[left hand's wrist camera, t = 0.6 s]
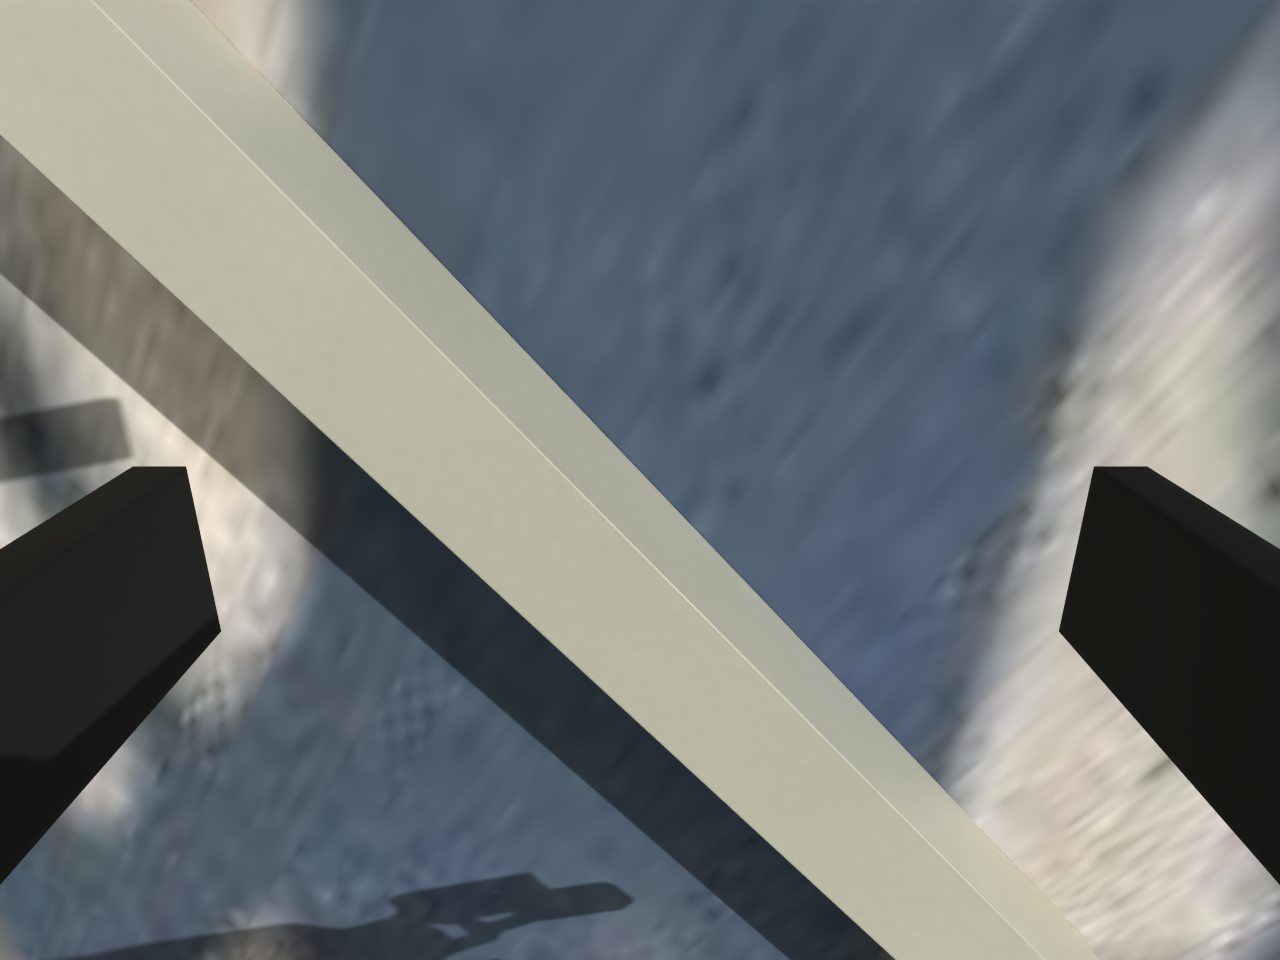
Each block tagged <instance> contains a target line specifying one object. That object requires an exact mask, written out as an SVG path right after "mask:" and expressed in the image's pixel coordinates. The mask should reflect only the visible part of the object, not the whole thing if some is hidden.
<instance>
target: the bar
mask: <svg viewBox="0 0 1280 960" xmlns="http://www.w3.org/2000/svg"><path fill="white" fill-rule="evenodd" d="M0 136H2V137H3V138H4V139H5V140H6V141H7V142H8V143H9V144H10V145H11V146H12V147H14V148H15V149H16V150H17V151H18V152H19V153H20V154H21V155H22V156H23V157H24V158H25V159H27V160H28V161H29V162H30V163H31V164H32V165H33V166H34V167H35V168H36V169H37V170H38V171H40V172H41V173H42V174H43V175H44V176H45V177H46V178H47V179H48V180H49V181H50V182H52V183H53V184H54V185H55V186H56V187H57V188H58V189H59V190H60V191H61V192H62V193H63V194H65V195H66V196H67V197H68V198H69V199H70V200H71V201H72V202H73V203H74V204H75V205H76V206H78V207H79V208H80V209H81V210H82V211H83V212H84V213H85V214H86V215H87V216H88V217H90V218H91V219H92V220H93V221H94V222H95V223H96V224H97V225H98V226H99V227H100V228H101V229H103V230H104V231H105V232H106V233H107V234H108V235H109V236H110V237H111V238H112V239H113V240H114V241H116V242H117V243H118V244H119V245H120V246H121V247H122V248H123V249H124V250H125V251H126V252H128V253H129V254H130V255H131V256H132V257H133V258H134V259H135V260H136V261H137V262H138V263H139V264H141V265H142V266H143V267H144V268H145V269H146V270H147V271H148V272H149V273H150V274H151V275H153V276H154V277H155V278H156V279H157V280H158V281H159V282H160V283H161V284H162V285H163V286H164V287H166V288H167V289H168V290H169V291H170V292H171V293H172V294H173V295H174V296H175V297H176V298H177V299H179V300H180V301H181V302H182V303H183V304H184V305H185V306H186V307H187V308H188V309H189V310H191V311H192V312H193V313H194V314H195V315H196V316H197V317H198V318H199V319H200V320H201V321H202V322H204V323H205V324H206V325H207V326H208V327H209V328H210V329H211V330H212V331H213V332H214V333H215V334H217V335H218V336H219V337H220V338H221V339H222V340H223V341H224V342H225V343H226V344H227V345H229V346H230V347H231V348H232V349H233V350H234V351H235V352H236V353H237V354H238V355H239V356H240V357H242V358H243V359H244V360H245V361H246V362H247V363H248V364H249V365H250V366H251V367H252V368H253V369H255V370H256V371H257V372H258V373H259V374H260V375H261V376H262V377H263V378H264V379H265V380H267V381H268V382H269V383H270V384H271V385H272V386H273V387H274V388H275V389H276V390H277V391H278V392H280V393H281V394H282V395H283V396H284V397H285V398H286V399H287V400H288V401H289V402H290V403H291V404H293V405H294V406H295V407H296V408H297V409H298V410H299V411H300V412H301V413H302V414H303V415H305V416H306V417H307V418H308V419H309V420H310V421H311V422H312V423H313V424H314V425H315V426H316V427H318V428H319V429H320V430H321V431H322V432H323V433H324V434H325V435H326V436H327V437H328V438H329V439H331V440H332V441H333V442H334V443H335V444H336V445H337V446H338V447H339V448H340V449H341V450H343V451H344V452H345V453H346V454H347V455H348V456H349V457H350V458H351V459H352V460H353V461H354V462H356V463H357V464H358V465H359V466H360V467H361V468H362V469H363V470H364V471H365V472H366V473H367V474H369V475H370V476H371V477H372V478H373V479H374V480H375V481H376V482H377V483H378V484H379V485H381V486H382V487H383V488H384V489H385V490H386V491H387V492H388V493H389V494H390V495H391V496H392V497H394V498H395V499H396V500H397V501H398V502H399V503H400V504H401V505H402V506H403V507H404V508H405V509H407V510H408V511H409V512H410V513H411V514H412V515H413V516H414V517H415V518H416V519H417V520H419V521H420V522H421V523H422V524H423V525H424V526H425V527H426V528H427V529H428V530H429V531H430V532H432V533H433V534H434V535H435V536H436V537H437V538H438V539H439V540H440V541H441V542H442V543H443V544H445V545H446V546H447V547H448V548H449V549H450V550H451V551H452V552H453V553H454V554H455V555H457V556H458V557H459V558H460V559H461V560H462V561H463V562H464V563H465V564H466V565H467V566H468V567H470V568H471V569H472V570H473V571H474V572H475V573H476V574H477V575H478V576H479V577H480V578H481V579H483V580H484V581H485V582H486V583H487V584H488V585H489V586H490V587H491V588H492V589H493V590H495V591H496V592H497V593H498V594H499V595H500V596H501V597H502V598H503V599H504V600H505V601H506V602H508V603H509V604H510V605H511V606H512V607H513V608H514V609H515V610H516V611H517V612H518V613H519V614H521V615H522V616H523V617H524V618H525V619H526V620H527V621H528V622H529V623H530V624H531V625H533V626H534V627H535V628H536V629H537V630H538V631H539V632H540V633H541V634H542V635H543V636H544V637H546V638H547V639H548V640H549V641H550V642H551V643H552V644H553V645H554V646H555V647H556V648H558V649H559V650H560V651H561V652H562V653H563V654H564V655H565V656H566V657H567V658H568V659H569V660H571V661H572V662H573V663H574V664H575V665H576V666H577V667H578V668H579V669H580V670H581V671H582V672H584V673H585V674H586V675H587V676H588V677H589V678H590V679H591V680H592V681H593V682H594V683H596V684H597V685H598V686H599V687H600V688H601V689H602V690H603V691H604V692H605V693H606V694H607V695H609V696H610V697H611V698H612V699H613V700H614V701H615V702H616V703H617V704H618V705H619V706H620V707H622V708H623V709H624V710H625V711H626V712H627V713H628V714H629V715H630V716H631V717H632V718H634V719H635V720H636V721H637V722H638V723H639V724H640V725H641V726H642V727H643V728H644V729H645V730H647V731H648V732H649V733H650V734H651V735H652V736H653V737H654V738H655V739H656V740H657V741H658V742H660V743H661V744H662V745H663V746H664V747H665V748H666V749H667V750H668V751H669V752H670V753H672V754H673V755H674V756H675V757H676V758H677V759H678V760H679V761H680V762H681V763H682V764H683V765H685V766H686V767H687V768H688V769H689V770H690V771H691V772H692V773H693V774H694V775H695V776H696V777H698V778H699V779H700V780H701V781H702V782H703V783H704V784H705V785H706V786H707V787H708V788H710V789H711V790H712V791H713V792H714V793H715V794H716V795H717V796H718V797H719V798H720V799H721V800H723V801H724V802H725V803H726V804H727V805H728V806H729V807H730V808H731V809H732V810H733V811H734V812H736V813H737V814H738V815H739V816H740V817H741V818H742V819H743V820H744V821H745V822H746V823H748V824H749V825H750V826H751V827H752V828H753V829H754V830H755V831H756V832H757V833H758V834H759V835H761V836H762V837H763V838H764V839H765V840H766V841H767V842H768V843H769V844H770V845H771V846H772V847H774V848H775V849H776V850H777V851H778V852H779V853H780V854H781V855H782V856H783V857H784V858H786V859H787V860H788V861H789V862H790V863H791V864H792V865H793V866H794V867H795V868H796V869H797V870H799V871H800V872H801V873H802V874H803V875H804V876H805V877H806V878H807V879H808V880H809V881H810V882H812V883H813V884H814V885H815V886H816V887H817V888H818V889H819V890H820V891H821V892H822V893H824V894H825V895H826V896H827V897H828V898H829V899H830V900H831V901H832V902H833V903H834V904H835V905H837V906H838V907H839V908H840V909H841V910H842V911H843V912H844V913H845V914H846V915H847V916H848V917H850V918H851V919H852V920H853V921H854V922H855V923H856V924H857V925H858V926H859V927H860V928H862V929H863V930H864V931H865V932H866V933H867V934H868V935H869V936H870V937H871V938H872V939H873V940H875V941H876V942H877V943H878V944H879V945H880V946H881V947H882V948H883V949H884V950H885V951H886V952H888V953H889V954H890V955H891V956H892V957H893V958H894V959H895V960H1098V959H1097V957H1096V955H1095V954H1094V952H1093V950H1092V948H1091V946H1090V944H1089V943H1088V941H1087V939H1086V938H1085V937H1084V936H1083V935H1082V934H1081V933H1080V932H1079V931H1078V930H1077V929H1076V928H1075V927H1074V926H1073V924H1072V923H1071V922H1070V921H1069V920H1068V919H1067V918H1066V917H1065V916H1064V915H1063V914H1062V913H1061V912H1060V911H1059V910H1058V909H1057V908H1056V907H1055V906H1054V905H1053V904H1052V902H1051V901H1050V900H1049V899H1048V898H1047V897H1046V896H1045V895H1044V894H1043V893H1042V892H1041V891H1040V890H1039V889H1038V888H1037V887H1036V886H1035V885H1034V884H1033V883H1032V882H1031V881H1030V879H1029V878H1028V877H1027V876H1026V875H1025V874H1024V873H1023V872H1022V871H1021V870H1020V869H1019V868H1018V867H1017V866H1016V865H1015V864H1014V863H1013V862H1012V861H1011V860H1010V859H1009V857H1008V856H1007V855H1006V854H1005V853H1004V852H1003V851H1002V850H1001V849H1000V848H999V847H998V846H997V845H996V844H995V843H994V842H993V841H992V840H991V839H990V838H989V837H988V836H987V834H986V833H985V832H984V831H983V830H982V829H981V828H980V827H979V826H978V825H977V824H976V823H975V822H974V821H973V820H972V819H971V818H970V817H969V816H968V815H967V814H966V812H965V811H964V810H963V809H962V808H961V807H960V806H959V805H958V804H957V803H956V802H955V801H954V800H953V799H952V798H951V797H950V796H949V795H948V794H947V793H946V792H945V791H944V789H943V788H942V787H941V786H940V785H939V784H938V783H937V782H936V781H935V780H934V779H933V778H932V777H931V776H930V775H929V774H928V773H927V772H926V771H925V770H924V769H923V767H922V766H921V765H920V764H919V763H918V762H917V761H916V760H915V759H914V758H913V757H912V756H911V755H910V754H909V753H908V752H907V751H906V750H905V749H904V748H903V747H902V745H901V744H900V743H899V742H898V741H897V740H896V739H895V738H894V737H893V736H892V735H891V734H890V733H889V732H888V731H887V730H886V729H885V728H884V727H883V726H882V725H881V724H880V722H879V721H878V720H877V719H876V718H875V717H874V716H873V715H872V714H871V713H870V712H869V711H868V710H867V709H866V708H865V707H864V706H863V705H862V704H861V703H860V702H859V700H858V699H857V698H856V697H855V696H854V695H853V694H852V693H851V692H850V691H849V690H848V689H847V688H846V687H845V686H844V685H843V684H842V683H841V682H840V681H839V680H838V679H837V677H836V676H835V675H834V674H833V673H832V672H831V671H830V670H829V669H828V668H827V667H826V666H825V665H824V664H823V663H822V662H821V661H820V660H819V659H818V658H817V657H816V655H815V654H814V653H813V652H812V651H811V650H810V649H809V648H808V647H807V646H806V645H805V644H804V643H803V642H802V641H801V640H800V639H799V638H798V637H797V636H796V635H795V633H794V632H793V631H792V630H791V629H790V628H789V627H788V626H787V625H786V624H785V623H784V622H783V621H782V620H781V619H780V618H779V617H778V616H777V615H776V614H775V613H774V612H773V610H772V609H771V608H770V607H769V606H768V605H767V604H766V603H765V602H764V601H763V600H762V599H761V598H760V597H759V596H758V595H757V594H756V593H755V592H754V591H753V590H752V588H751V587H750V586H749V585H748V584H747V583H746V582H745V581H744V580H743V579H742V578H741V577H740V576H739V575H738V574H737V573H736V572H735V571H734V570H733V569H732V568H731V567H730V565H729V564H728V563H727V562H726V561H725V560H724V559H723V558H722V557H721V556H720V555H719V554H718V553H717V552H716V551H715V550H714V549H713V548H712V547H711V546H710V545H709V543H708V542H707V541H706V540H705V539H704V538H703V537H702V536H701V535H700V534H699V533H698V532H697V531H696V530H695V529H694V528H693V527H692V526H691V525H690V524H689V523H688V522H687V520H686V519H685V518H684V517H683V516H682V515H681V514H680V513H679V512H678V511H677V510H676V509H675V508H674V507H673V506H672V505H671V504H670V503H669V502H668V501H667V500H666V498H665V497H664V496H663V495H662V494H661V493H660V492H659V491H658V490H657V489H656V488H655V487H654V486H653V485H652V484H651V483H650V482H649V481H648V480H647V479H646V478H645V476H644V475H643V474H642V473H641V472H640V471H639V470H638V469H637V468H636V467H635V466H634V465H633V464H632V463H631V462H630V461H629V460H628V459H627V458H626V457H625V456H624V455H623V453H622V452H621V451H620V450H619V449H618V448H617V447H616V446H615V445H614V444H613V443H612V442H611V441H610V440H609V439H608V438H607V437H606V436H605V435H604V434H603V433H602V431H601V430H600V429H599V428H598V427H597V426H596V425H595V424H594V423H593V422H592V421H591V420H590V419H589V418H588V417H587V416H586V415H585V414H584V413H583V412H582V411H581V410H580V408H579V407H578V406H577V405H576V404H575V403H574V402H573V401H572V400H571V399H570V398H569V397H568V396H567V395H566V394H565V393H564V392H563V391H562V390H561V389H560V388H559V386H558V385H557V384H556V383H555V382H554V381H553V380H552V379H551V378H550V377H549V376H548V375H547V374H546V373H545V372H544V371H543V370H542V369H541V368H540V367H539V366H538V365H537V363H536V362H535V361H534V360H533V359H532V358H531V357H530V356H529V355H528V354H527V353H526V352H525V351H524V350H523V349H522V348H521V347H520V346H519V345H518V344H517V343H516V341H515V340H514V339H513V338H512V337H511V336H510V335H509V334H508V333H507V332H506V331H505V330H504V329H503V328H502V327H501V326H500V325H499V324H498V323H497V322H496V321H495V319H494V318H493V317H492V316H491V315H490V314H489V313H488V312H487V311H486V310H485V309H484V308H483V307H482V306H481V305H480V304H479V303H478V302H477V301H476V300H475V299H474V298H473V296H472V295H471V294H470V293H469V292H468V291H467V290H466V289H465V288H464V287H463V286H462V285H461V284H460V283H459V282H458V281H457V280H456V279H455V278H454V277H453V276H452V274H451V273H450V272H449V271H448V270H447V269H446V268H445V267H444V266H443V265H442V264H441V263H440V262H439V261H438V260H437V259H436V258H435V257H434V256H433V255H432V254H431V253H430V251H429V250H428V249H427V248H426V247H425V246H424V245H423V244H422V243H421V242H420V241H419V240H418V239H417V238H416V237H415V236H414V235H413V234H412V233H411V232H410V231H409V229H408V228H407V227H406V226H405V225H404V224H403V223H402V222H401V221H400V220H399V219H398V218H397V217H396V216H395V215H394V214H393V213H392V212H391V211H390V210H389V209H388V207H387V206H386V205H385V204H384V203H383V202H382V201H381V200H380V199H379V198H378V197H377V196H376V195H375V194H374V193H373V192H372V191H371V190H370V189H369V188H368V187H367V186H366V184H365V183H364V182H363V181H362V180H361V179H360V178H359V177H358V176H357V175H356V174H355V173H354V172H353V171H352V170H351V169H350V168H349V167H348V166H347V165H346V164H345V162H344V161H343V160H342V159H341V158H340V157H339V156H338V155H337V154H336V153H335V152H334V151H333V150H332V149H331V148H330V147H329V146H328V145H327V144H326V143H325V142H324V141H323V139H322V138H321V137H320V136H319V135H318V134H317V133H316V132H315V131H314V130H313V129H312V128H311V127H310V126H309V125H308V124H307V123H306V122H305V121H304V120H303V119H302V117H301V116H300V115H299V114H298V113H297V112H296V111H295V110H294V109H293V108H292V107H291V106H290V105H289V104H288V103H287V102H286V101H285V100H284V99H283V98H282V97H281V96H280V94H279V93H278V92H277V91H276V90H275V89H274V88H273V87H272V86H271V85H270V84H269V83H268V82H267V81H266V80H265V79H264V78H263V77H262V76H261V75H260V74H259V72H258V71H257V70H256V69H255V68H254V67H253V66H252V65H251V64H250V63H249V62H248V61H247V60H246V59H245V58H244V57H243V56H242V55H241V54H240V53H239V52H238V50H237V49H236V48H235V47H234V46H233V45H232V44H231V43H230V42H229V41H228V40H227V39H226V38H225V37H224V36H223V35H222V34H221V33H220V32H219V31H218V30H217V29H216V27H215V26H214V25H213V24H212V23H211V22H210V21H209V20H208V19H207V18H206V17H205V16H204V15H203V14H202V13H201V12H200V11H199V10H198V9H197V8H196V7H195V5H194V4H193V3H192V2H191V1H190V0H0Z"/></svg>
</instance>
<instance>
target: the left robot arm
mask: <svg viewBox="0 0 1280 960" xmlns="http://www.w3.org/2000/svg"><path fill="white" fill-rule="evenodd" d="M220 632H221V629H220V624H219V619H218V615H217V610H216V605H215V601H214V596H213V591H212V586H211V582H210V577H209V572H208V568H207V563H206V558H205V554H204V549H203V544H202V540H201V535H200V530H199V525H198V521H197V516H196V511H195V507H194V502H193V497H192V493H191V488H190V483H189V478H188V474H187V469H186V467H131V468H130V469H128V470H127V471H125V472H123V473H122V474H120V475H119V476H117V477H115V478H114V479H112V480H111V481H109V482H107V483H106V484H104V485H103V486H101V487H99V488H98V489H96V490H95V491H93V492H91V493H90V494H88V495H87V496H85V497H83V498H82V499H80V500H78V501H77V502H75V503H74V504H72V505H70V506H69V507H67V508H66V509H64V510H62V511H61V512H59V513H58V514H56V515H54V516H53V517H51V518H50V519H48V520H46V521H45V522H43V523H42V524H40V525H38V526H37V527H35V528H34V529H32V530H30V531H29V532H27V533H26V534H24V535H22V536H21V537H19V538H17V539H16V540H14V541H13V542H11V543H9V544H8V545H6V546H5V547H3V548H1V549H0V884H1V883H2V882H3V881H4V880H5V879H6V878H7V876H8V875H9V874H10V873H11V872H12V871H13V869H14V868H15V867H16V866H17V865H18V864H19V863H20V861H21V860H22V859H23V858H24V857H25V856H26V855H27V853H28V852H29V851H30V850H31V849H32V848H33V847H34V845H35V844H36V843H37V842H38V841H39V840H40V838H41V837H42V836H43V835H44V834H45V833H46V832H47V830H48V829H49V828H50V827H51V826H52V825H53V824H54V822H55V821H56V820H57V819H58V818H59V817H60V816H61V814H62V813H63V812H64V811H65V810H66V809H67V808H68V806H69V805H70V804H71V803H72V802H73V801H74V799H75V798H76V797H77V796H78V795H79V794H80V793H81V791H82V790H83V789H84V788H85V787H86V786H87V785H88V783H89V782H90V781H91V780H92V779H93V778H94V777H95V775H96V774H97V773H98V772H99V771H100V770H101V769H102V767H103V766H104V765H105V764H106V763H107V762H108V760H109V759H110V758H111V757H112V756H113V755H114V754H115V752H116V751H117V750H118V749H119V748H120V747H121V746H122V744H123V743H124V742H125V741H126V740H127V739H128V738H129V736H130V735H131V734H132V733H133V732H134V731H135V729H136V728H137V727H138V726H139V725H140V724H141V723H142V721H143V720H144V719H145V718H146V717H147V716H148V715H149V713H150V712H151V711H152V710H153V709H154V708H155V707H156V705H157V704H158V703H159V702H160V701H161V700H162V699H163V697H164V696H165V695H166V694H167V693H168V692H169V690H170V689H171V688H172V687H173V686H174V685H175V684H176V682H177V681H178V680H179V679H180V678H181V677H182V676H183V674H184V673H185V672H186V671H187V670H188V669H189V668H190V666H191V665H192V664H193V663H194V662H195V661H196V659H197V658H198V657H199V656H200V655H201V654H202V653H203V651H204V650H205V649H206V648H207V647H208V646H209V645H210V643H211V642H212V641H213V640H214V639H215V638H216V637H217V635H218V634H219V633H220ZM1059 632H1060V633H1061V634H1062V635H1063V637H1064V638H1065V639H1066V640H1067V641H1068V642H1069V643H1070V645H1071V646H1072V647H1073V648H1074V649H1075V650H1076V651H1077V653H1078V654H1079V655H1080V656H1081V657H1082V658H1083V659H1084V661H1085V662H1086V663H1087V664H1088V665H1089V666H1090V668H1091V669H1092V670H1093V671H1094V672H1095V673H1096V674H1097V676H1098V677H1099V678H1100V679H1101V680H1102V681H1103V682H1104V684H1105V685H1106V686H1107V687H1108V688H1109V689H1110V690H1111V692H1112V693H1113V694H1114V695H1115V696H1116V697H1117V699H1118V700H1119V701H1120V702H1121V703H1122V704H1123V705H1124V707H1125V708H1126V709H1127V710H1128V711H1129V712H1130V713H1131V715H1132V716H1133V717H1134V718H1135V719H1136V720H1137V721H1138V723H1139V724H1140V725H1141V726H1142V727H1143V728H1144V729H1145V731H1146V732H1147V733H1148V734H1149V735H1150V736H1151V738H1152V739H1153V740H1154V741H1155V742H1156V743H1157V744H1158V746H1159V747H1160V748H1161V749H1162V750H1163V751H1164V752H1165V754H1166V755H1167V756H1168V757H1169V758H1170V759H1171V760H1172V762H1173V763H1174V764H1175V765H1176V766H1177V767H1178V769H1179V770H1180V771H1181V772H1182V773H1183V774H1184V775H1185V777H1186V778H1187V779H1188V780H1189V781H1190V782H1191V783H1192V785H1193V786H1194V787H1195V788H1196V789H1197V790H1198V791H1199V793H1200V794H1201V795H1202V796H1203V797H1204V798H1205V799H1206V801H1207V802H1208V803H1209V804H1210V805H1211V806H1212V808H1213V809H1214V810H1215V811H1216V812H1217V813H1218V814H1219V816H1220V817H1221V818H1222V819H1223V820H1224V821H1225V822H1226V824H1227V825H1228V826H1229V827H1230V828H1231V829H1232V830H1233V832H1234V833H1235V834H1236V835H1237V836H1238V837H1239V838H1240V840H1241V841H1242V842H1243V843H1244V844H1245V845H1246V847H1247V848H1248V849H1249V850H1250V851H1251V852H1252V853H1253V855H1254V856H1255V857H1256V858H1257V859H1258V860H1259V861H1260V863H1261V864H1262V865H1263V866H1264V867H1265V868H1266V869H1267V871H1268V872H1269V873H1270V874H1271V875H1272V876H1273V878H1274V879H1275V880H1276V881H1277V882H1278V883H1279V884H1280V549H1279V548H1277V547H1275V546H1274V545H1272V544H1271V543H1269V542H1267V541H1266V540H1264V539H1263V538H1261V537H1259V536H1258V535H1256V534H1254V533H1253V532H1251V531H1250V530H1248V529H1246V528H1245V527H1243V526H1242V525H1240V524H1238V523H1237V522H1235V521H1234V520H1232V519H1230V518H1229V517H1227V516H1226V515H1224V514H1222V513H1221V512H1219V511H1218V510H1216V509H1214V508H1213V507H1211V506H1210V505H1208V504H1206V503H1205V502H1203V501H1202V500H1200V499H1198V498H1197V497H1195V496H1193V495H1192V494H1190V493H1189V492H1187V491H1185V490H1184V489H1182V488H1181V487H1179V486H1177V485H1176V484H1174V483H1173V482H1171V481H1169V480H1168V479H1166V478H1165V477H1163V476H1161V475H1160V474H1158V473H1157V472H1155V471H1153V470H1152V469H1150V468H1149V467H1094V469H1093V474H1092V478H1091V483H1090V488H1089V493H1088V497H1087V502H1086V507H1085V511H1084V516H1083V521H1082V525H1081V530H1080V535H1079V539H1078V544H1077V549H1076V554H1075V558H1074V563H1073V568H1072V572H1071V577H1070V582H1069V586H1068V591H1067V596H1066V600H1065V605H1064V610H1063V615H1062V619H1061V624H1060V629H1059Z"/></svg>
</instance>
